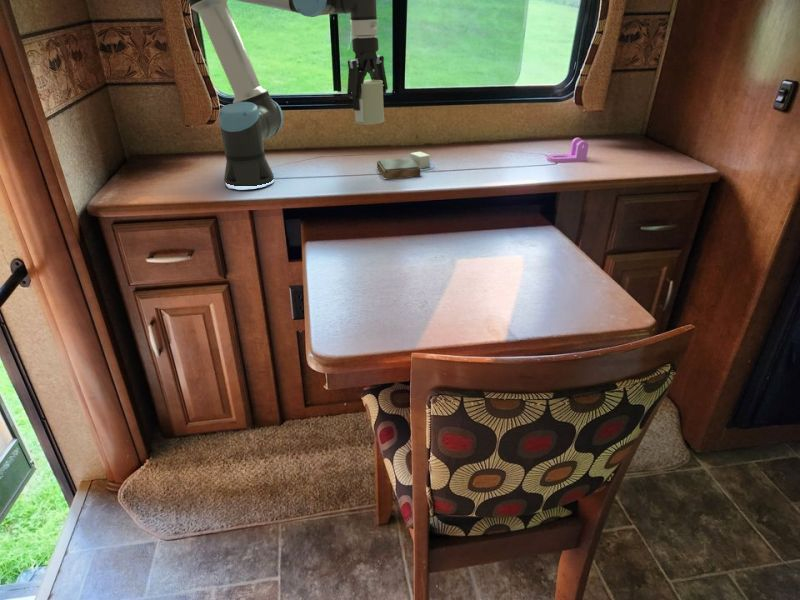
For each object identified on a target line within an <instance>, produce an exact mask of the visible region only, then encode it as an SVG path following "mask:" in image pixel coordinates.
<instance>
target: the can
mask: <svg viewBox="0 0 800 600" xmlns="http://www.w3.org/2000/svg"><path fill="white" fill-rule="evenodd" d="M383 86H384V85H383V81H382V80H371V78H370V79H364V83H363V84H361V88H362V92H361V96H360V99H362V101H363V116H364V122H359V121H355V120H354V123H355V124H357V125H360V126H361V125H366V126H370V125H379V124H383V123H385V121H386V119H385V110H384V109H385V108H384V102H383V101H384V93H383ZM356 94H357V93H356Z"/></svg>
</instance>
